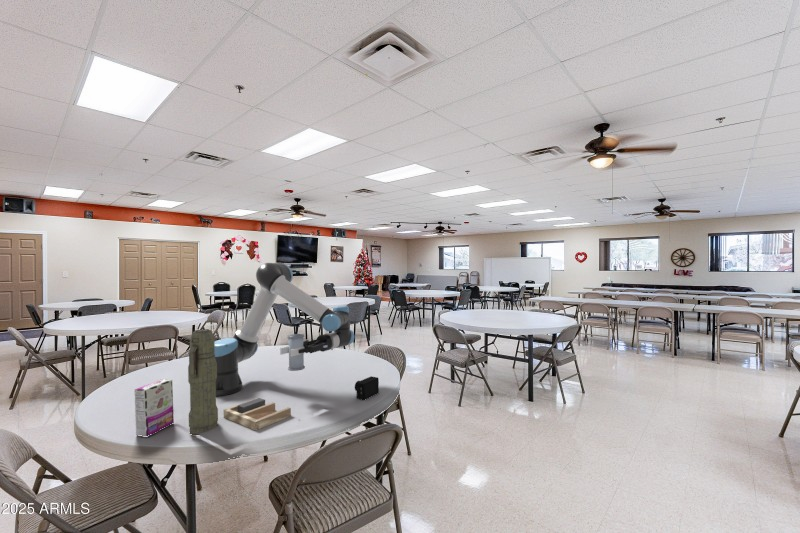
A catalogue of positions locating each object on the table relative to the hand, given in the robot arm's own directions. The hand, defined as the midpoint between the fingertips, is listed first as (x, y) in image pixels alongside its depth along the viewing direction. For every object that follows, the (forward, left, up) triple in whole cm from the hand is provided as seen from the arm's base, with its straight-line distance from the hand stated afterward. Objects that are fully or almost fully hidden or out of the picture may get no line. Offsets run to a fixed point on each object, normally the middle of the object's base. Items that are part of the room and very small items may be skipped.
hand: (286, 352), depth 146 cm
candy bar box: (-21, -40, -22) cm, 50 cm away
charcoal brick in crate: (-3, -14, -21) cm, 25 cm away
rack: (+2, -15, -22) cm, 27 cm away
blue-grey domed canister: (0, +5, -8) cm, 9 cm away
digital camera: (+20, +26, -22) cm, 40 cm away
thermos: (-6, -30, -22) cm, 38 cm away
